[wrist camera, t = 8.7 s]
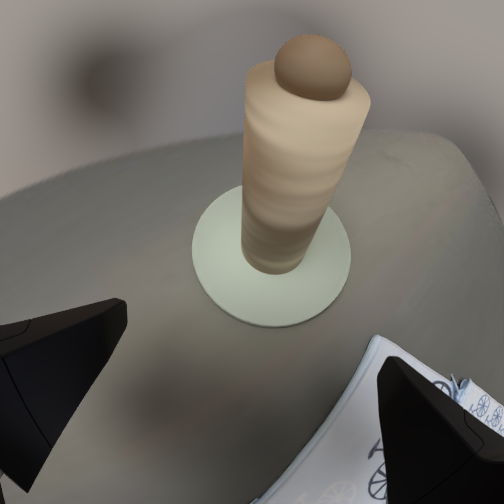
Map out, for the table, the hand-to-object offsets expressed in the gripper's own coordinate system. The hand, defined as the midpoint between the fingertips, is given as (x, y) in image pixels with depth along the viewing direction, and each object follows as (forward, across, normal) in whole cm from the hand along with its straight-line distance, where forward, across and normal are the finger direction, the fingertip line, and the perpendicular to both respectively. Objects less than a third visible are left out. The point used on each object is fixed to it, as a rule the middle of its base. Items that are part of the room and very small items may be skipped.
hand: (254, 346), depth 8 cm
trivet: (+12, 0, +1) cm, 12 cm away
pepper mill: (+11, 0, 0) cm, 11 cm away
